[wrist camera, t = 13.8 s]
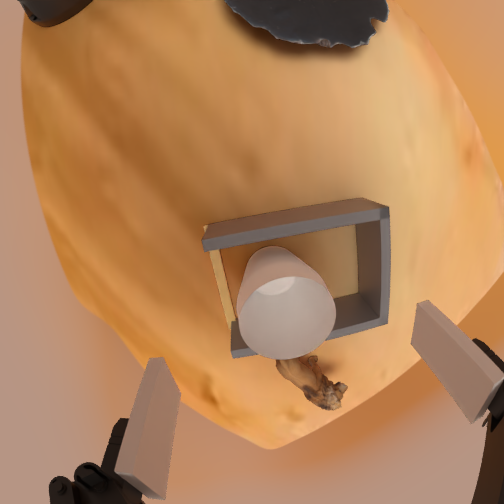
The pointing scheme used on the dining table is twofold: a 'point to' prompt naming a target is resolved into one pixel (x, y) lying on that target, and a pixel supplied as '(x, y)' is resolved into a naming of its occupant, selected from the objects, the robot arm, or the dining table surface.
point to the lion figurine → (312, 382)
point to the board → (314, 19)
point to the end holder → (304, 221)
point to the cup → (283, 305)
